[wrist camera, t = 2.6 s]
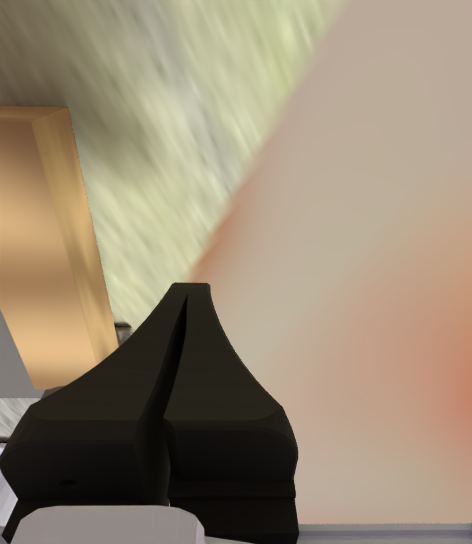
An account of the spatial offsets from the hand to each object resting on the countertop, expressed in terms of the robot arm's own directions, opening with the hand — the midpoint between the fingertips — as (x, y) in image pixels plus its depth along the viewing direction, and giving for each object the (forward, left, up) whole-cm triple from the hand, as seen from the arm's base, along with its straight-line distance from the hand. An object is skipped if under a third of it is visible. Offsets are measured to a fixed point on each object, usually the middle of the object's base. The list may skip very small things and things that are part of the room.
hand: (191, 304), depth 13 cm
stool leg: (-2, +7, -5) cm, 9 cm away
